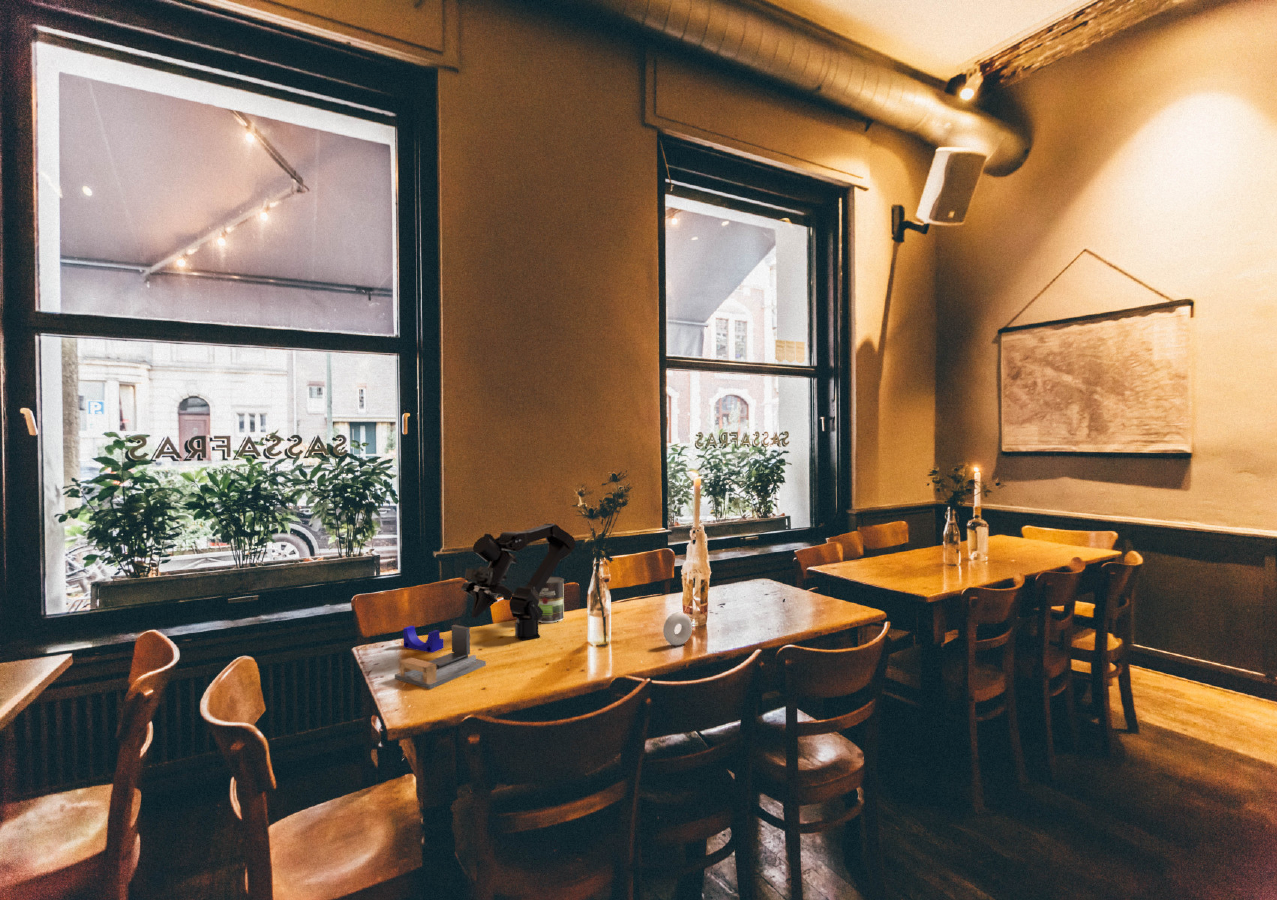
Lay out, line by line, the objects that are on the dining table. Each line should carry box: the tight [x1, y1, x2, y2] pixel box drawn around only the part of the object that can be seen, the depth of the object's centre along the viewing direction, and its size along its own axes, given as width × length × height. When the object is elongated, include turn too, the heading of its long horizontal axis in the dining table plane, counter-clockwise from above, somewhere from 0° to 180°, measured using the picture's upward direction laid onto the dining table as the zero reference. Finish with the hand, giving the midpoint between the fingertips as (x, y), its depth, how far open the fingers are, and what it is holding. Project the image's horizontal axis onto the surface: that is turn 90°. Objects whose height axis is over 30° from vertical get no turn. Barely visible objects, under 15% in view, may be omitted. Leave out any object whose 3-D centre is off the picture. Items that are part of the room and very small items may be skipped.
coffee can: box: [538, 576, 565, 624], centre depth 211 cm, size 10×10×14 cm
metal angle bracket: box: [429, 624, 471, 670], centre depth 165 cm, size 10×6×9 cm, turn 149°
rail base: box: [394, 652, 487, 690], centre depth 163 cm, size 19×14×5 cm
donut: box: [662, 611, 693, 646], centre depth 181 cm, size 10×4×10 cm, turn 120°
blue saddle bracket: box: [402, 625, 444, 654], centre depth 183 cm, size 12×4×6 cm, turn 63°
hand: (473, 617), depth 173 cm, fingers closed
